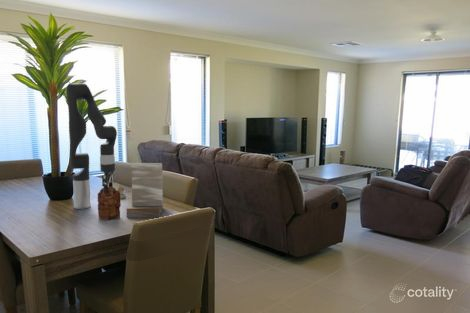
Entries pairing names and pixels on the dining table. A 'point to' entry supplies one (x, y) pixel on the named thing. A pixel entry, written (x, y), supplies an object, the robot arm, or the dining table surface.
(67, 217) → the dining table surface
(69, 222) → the dining table surface
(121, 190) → the ceramic model
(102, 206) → the wooden figurine
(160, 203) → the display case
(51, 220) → the dining table surface
